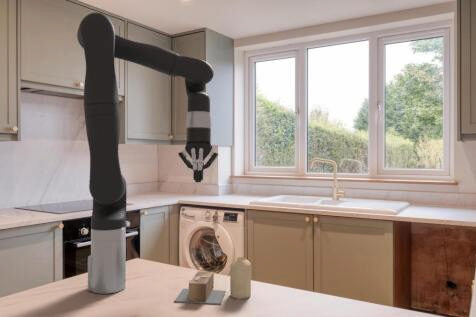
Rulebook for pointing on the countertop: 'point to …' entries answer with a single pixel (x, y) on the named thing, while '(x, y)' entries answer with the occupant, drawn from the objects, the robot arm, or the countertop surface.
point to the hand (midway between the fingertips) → (198, 182)
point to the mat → (213, 298)
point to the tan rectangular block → (201, 286)
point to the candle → (240, 278)
